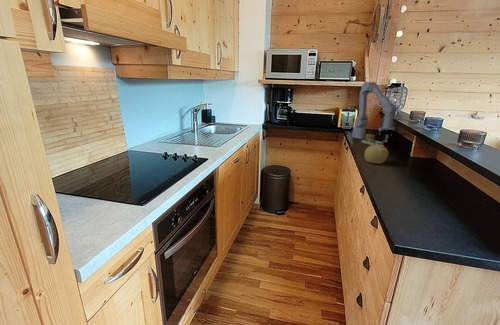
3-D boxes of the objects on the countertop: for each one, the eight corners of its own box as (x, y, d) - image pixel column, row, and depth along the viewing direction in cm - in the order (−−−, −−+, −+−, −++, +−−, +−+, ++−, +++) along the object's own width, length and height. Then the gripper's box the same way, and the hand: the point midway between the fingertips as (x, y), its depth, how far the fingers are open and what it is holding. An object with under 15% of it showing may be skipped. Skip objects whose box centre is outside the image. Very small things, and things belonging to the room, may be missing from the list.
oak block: (365, 142, 196) (366, 134, 195) (369, 141, 198) (370, 133, 196) (369, 143, 193) (370, 135, 191) (373, 142, 194) (374, 134, 193)
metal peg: (380, 141, 195) (382, 133, 194) (384, 141, 197) (385, 133, 195) (384, 142, 192) (386, 134, 190) (388, 142, 194) (389, 134, 192)
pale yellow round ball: (389, 166, 142) (392, 147, 139) (365, 164, 144) (368, 145, 141) (383, 160, 153) (386, 142, 149) (361, 158, 155) (364, 141, 152)
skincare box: (378, 134, 227) (381, 116, 223) (385, 134, 229) (388, 116, 225) (386, 136, 220) (389, 117, 215) (392, 136, 222) (396, 117, 217)
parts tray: (361, 142, 197) (361, 140, 196) (370, 141, 200) (370, 139, 200) (374, 145, 186) (374, 143, 186) (383, 144, 190) (383, 142, 189)
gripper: (385, 123, 184) (382, 141, 188) (399, 122, 189) (396, 140, 193) (377, 121, 190) (374, 139, 194) (391, 120, 195) (388, 138, 200)
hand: (384, 139), depth 194 cm, fingers closed on metal peg, 4 cm apart
